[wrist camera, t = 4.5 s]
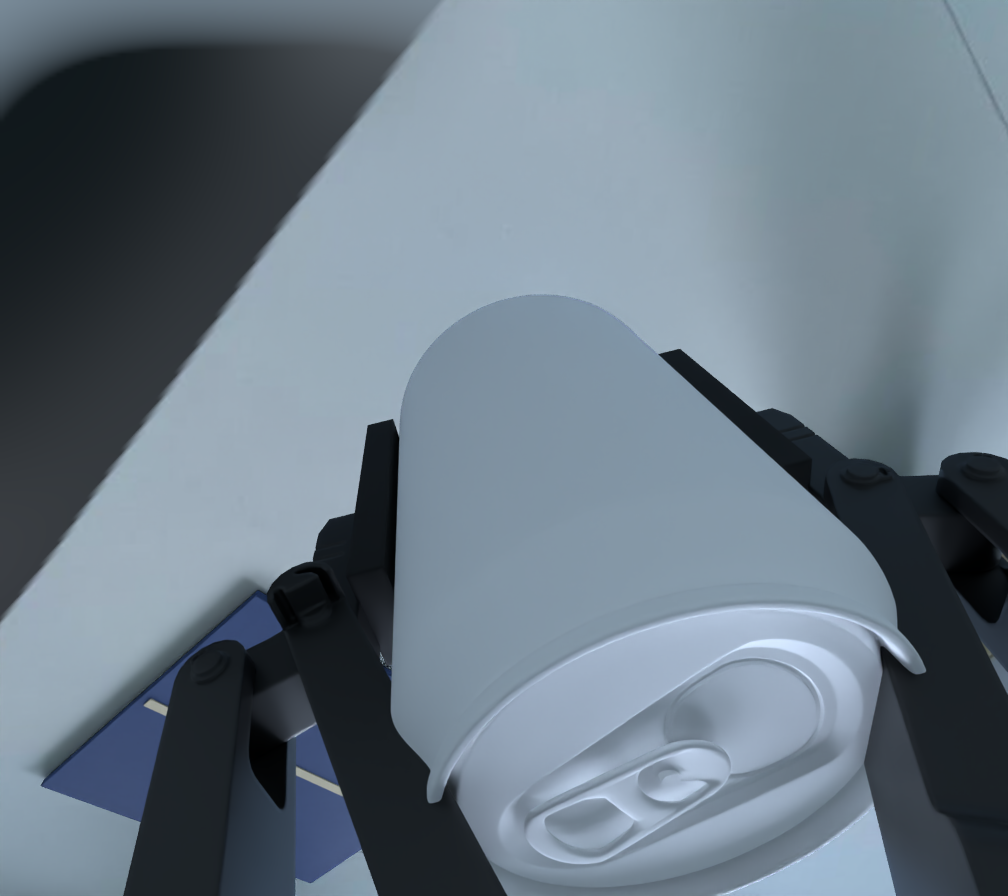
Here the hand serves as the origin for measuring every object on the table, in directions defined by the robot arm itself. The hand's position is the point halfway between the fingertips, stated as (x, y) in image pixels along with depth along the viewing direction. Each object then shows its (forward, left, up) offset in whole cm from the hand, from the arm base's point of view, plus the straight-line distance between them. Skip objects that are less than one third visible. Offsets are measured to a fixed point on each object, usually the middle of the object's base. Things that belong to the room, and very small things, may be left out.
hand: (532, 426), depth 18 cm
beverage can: (0, 0, -1) cm, 1 cm away
